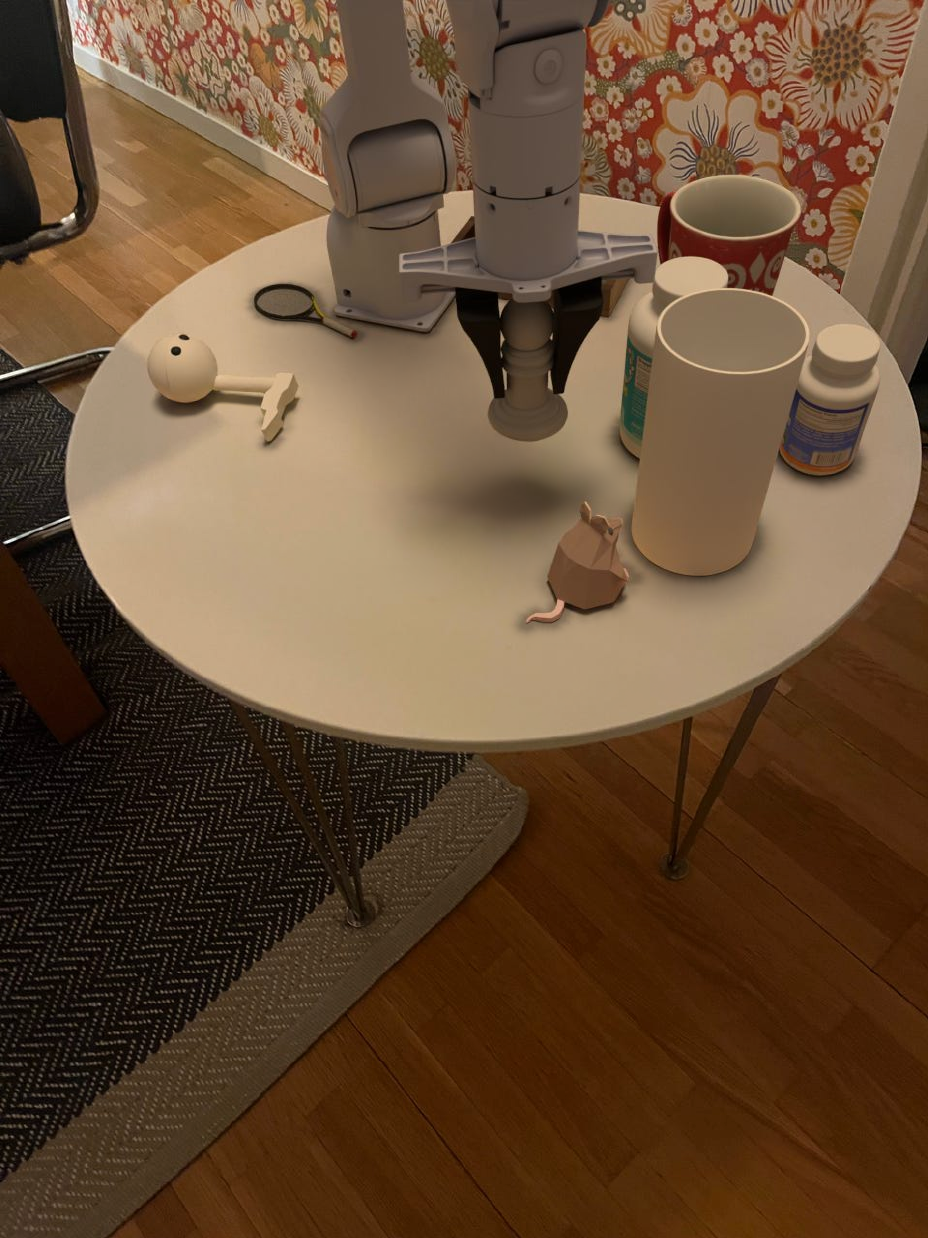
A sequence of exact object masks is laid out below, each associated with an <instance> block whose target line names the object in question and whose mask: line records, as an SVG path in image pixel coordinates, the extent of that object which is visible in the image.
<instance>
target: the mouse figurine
mask: <svg viewBox="0 0 928 1238" xmlns="http://www.w3.org/2000/svg"><path fill="white" fill-rule="evenodd" d="M579 514H580V519H579V520H578V521H577V522H576V523H575V524H574V525H573V526H572V527H571V528H570V529H569V530H567V531H566V532H565V533H564V534H563V535H562V536H561V539H559V541H558V542H557V545H556V549H555V552H554V555H553V558H552V561H551V564H550V567H549V571H548V573H547V580H548V582H549V584H550V586H551V589H552V591H553V593H554V596H555V598H556V599H557V600H556V604H555V605H556V606H555V608H554V609H553V610H551V611H549V612H534V613H533V614H531V615H530V616H528V617H527V619H526V621H525V624H528V623H529V622H531V621H538V622H542V623H543V622H544V623H553V622H555V621H557V620H559V619H560V618H561V616H562V615H563V612H564V609H565V605H566V604H569V605H572V606H575V607H577V608H579V609H582V610H587V609H592V608H596V607H600V606H605V605H608V604H612V603H615V601H616V599H617V598H618V596H619V594H620V592H621V591H622V590H623V588H624V586H625V584H626V583H627V582H629V579H630V575H629V573H628V571H627V569H626V567H624V566H623V564H622V562H621V559H620V556H619V553H618V549H617V543H618V540H619V536H620V532H621V530H622V528H623V525H624V522H623V519H622V518H607V517H606V516H603V515H600V514H596V515H593V516H592V509H591V507H590V506H589V504H588V502H587V501H584V502H583V503H581V505H580V509H579Z"/></svg>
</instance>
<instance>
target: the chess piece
mask: <svg viewBox="0 0 928 1238" xmlns="http://www.w3.org/2000/svg"><path fill="white" fill-rule="evenodd" d="M500 322H501V335H502V338H503V341H502V342H501V362H502V367H503V371H504V372H505V373H506V374H505V375H506V388H505V398H498V399H495V398H494V397H493V398H492V400H490V403H489V404H488V408H487V419H488V422H489V424H490V426H491V427H492V429H493V430H494V431H495V432H496V433H497V434H499V435H500V436H502V437H504V438H507V439H509V440H512V441H515V442H524V443H525V442H526V443H529V442H538V441H542V440H545V439H548V438H550V437H552V436H554V435H556V434H557V433H559V432H560V431H561V430H562V429H563V428H564V426H565V424H566V422H567V420H568V416H569V409H568V406H567V403H566V400H565V399H564V398H563V396H562V395H561V394H553V389H551V388H549V373H550V370H551V368H552V367H553V364H554V356H553V353H554V350H555V347H554V343H553V341H552V335H553V330H554V326H555V318H554V313H553V307H551V306H550V305H549V303H548V302H547V301H538V302H525V303H520V302H517V301H515V300H514V299H513V298H512V299H510V300H509V299H508V301H507V302H506V303H505V304H504V306H503V308H502V310H501V313H500Z"/></svg>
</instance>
